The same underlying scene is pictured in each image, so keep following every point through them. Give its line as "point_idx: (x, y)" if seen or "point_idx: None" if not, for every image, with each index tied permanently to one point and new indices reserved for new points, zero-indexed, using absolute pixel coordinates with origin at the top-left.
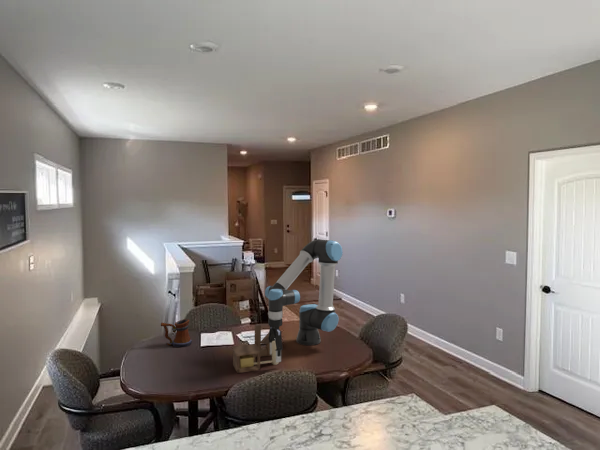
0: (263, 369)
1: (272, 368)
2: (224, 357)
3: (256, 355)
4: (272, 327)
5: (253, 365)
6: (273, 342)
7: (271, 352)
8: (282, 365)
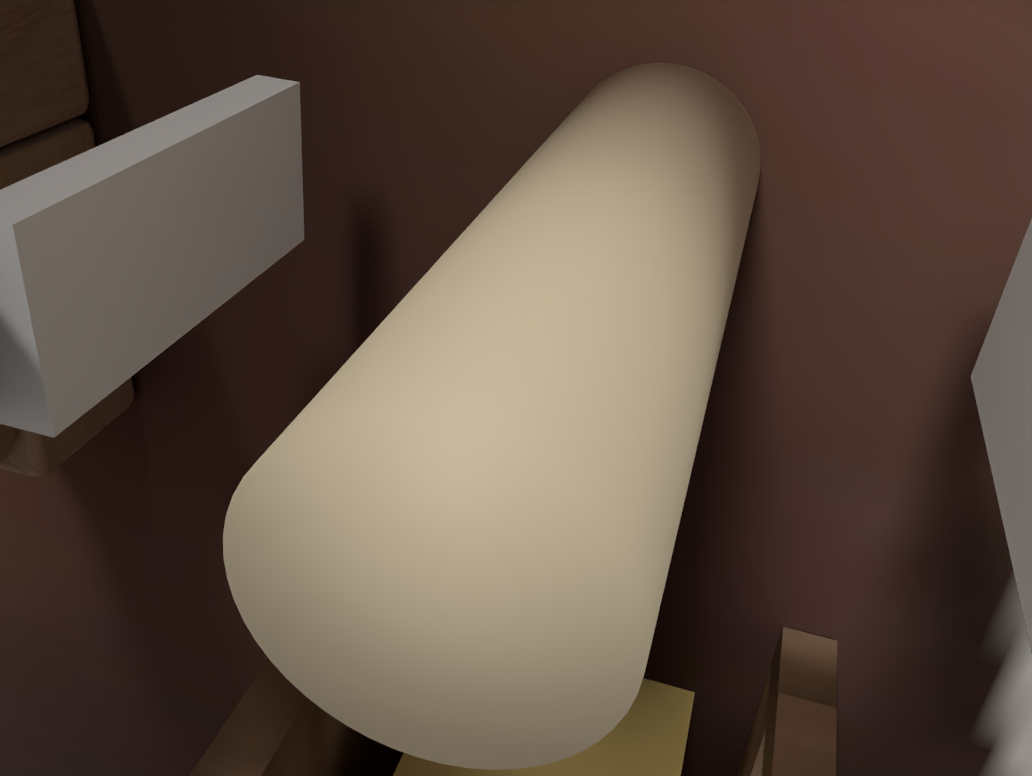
0: (854, 575)
1: (938, 387)
2: (42, 755)
3: (108, 400)
4: None
5: (683, 749)
6: (490, 736)
7: (272, 215)
8: (924, 27)
